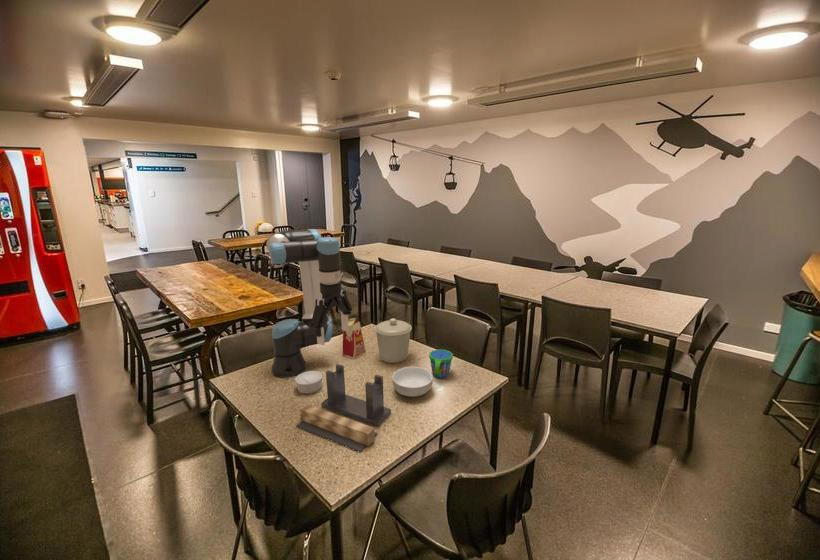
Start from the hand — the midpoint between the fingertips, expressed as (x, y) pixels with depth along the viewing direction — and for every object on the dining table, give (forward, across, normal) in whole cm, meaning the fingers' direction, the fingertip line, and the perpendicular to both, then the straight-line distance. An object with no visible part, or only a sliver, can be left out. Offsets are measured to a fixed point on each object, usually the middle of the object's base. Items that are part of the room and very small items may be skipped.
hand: (333, 337), depth 136 cm
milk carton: (+31, +40, +22) cm, 55 cm away
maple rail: (+28, -12, -9) cm, 32 cm away
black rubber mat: (+29, -12, -9) cm, 33 cm away
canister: (+30, +45, +1) cm, 54 cm away
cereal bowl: (+30, +23, -21) cm, 43 cm away
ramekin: (+30, +4, +19) cm, 36 cm away
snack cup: (+30, +41, -26) cm, 57 cm away
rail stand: (+29, +1, -8) cm, 30 cm away
